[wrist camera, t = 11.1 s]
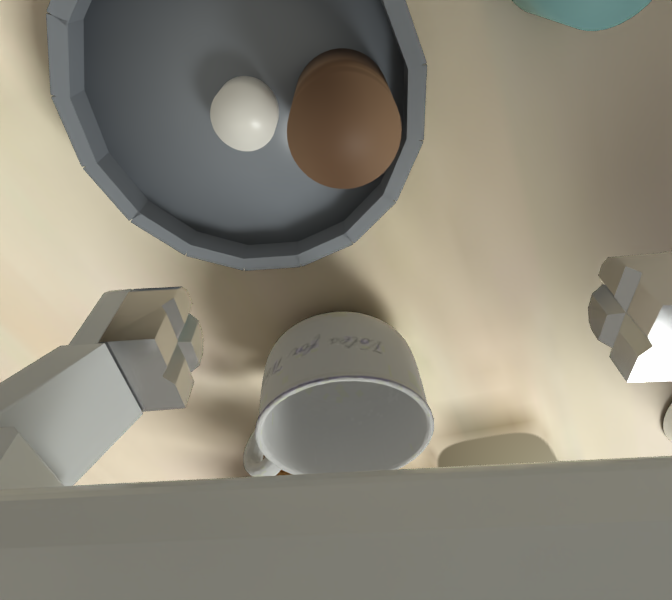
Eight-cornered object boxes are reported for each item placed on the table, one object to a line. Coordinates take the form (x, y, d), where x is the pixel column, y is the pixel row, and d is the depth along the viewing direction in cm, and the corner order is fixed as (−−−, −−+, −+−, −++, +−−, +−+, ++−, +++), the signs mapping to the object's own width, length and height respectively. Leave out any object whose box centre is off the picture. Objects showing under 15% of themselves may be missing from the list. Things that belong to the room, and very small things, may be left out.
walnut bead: (388, 44, 20) (402, 67, 16) (388, 144, 23) (400, 184, 19) (288, 52, 20) (278, 77, 16) (301, 151, 23) (294, 192, 19)
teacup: (376, 264, 29) (389, 353, 22) (437, 367, 35) (461, 461, 28) (203, 342, 33) (172, 436, 26) (284, 422, 39) (275, 515, 32)
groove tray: (424, -143, 17) (436, -154, 15) (412, 236, 27) (418, 258, 25) (3, -99, 18) (-37, -105, 16) (144, 255, 28) (130, 278, 26)
